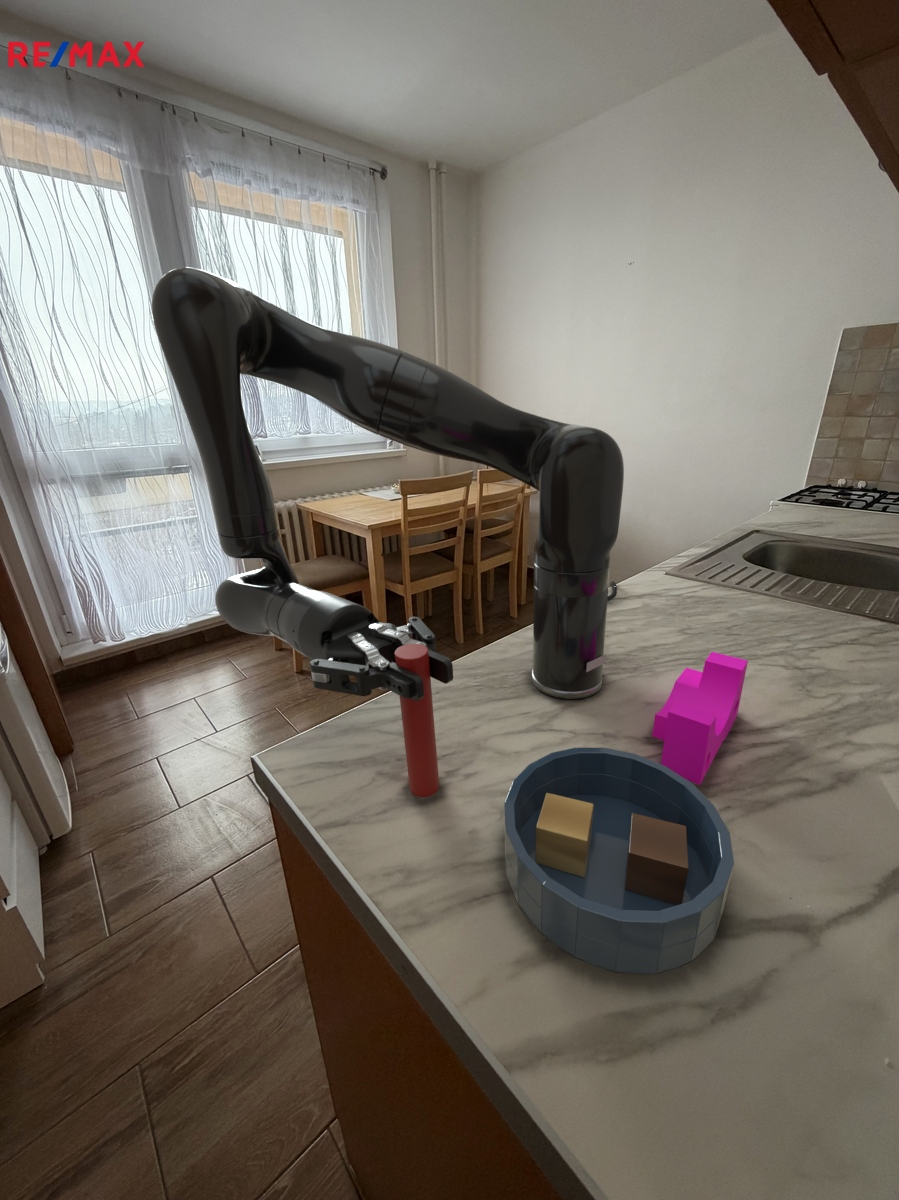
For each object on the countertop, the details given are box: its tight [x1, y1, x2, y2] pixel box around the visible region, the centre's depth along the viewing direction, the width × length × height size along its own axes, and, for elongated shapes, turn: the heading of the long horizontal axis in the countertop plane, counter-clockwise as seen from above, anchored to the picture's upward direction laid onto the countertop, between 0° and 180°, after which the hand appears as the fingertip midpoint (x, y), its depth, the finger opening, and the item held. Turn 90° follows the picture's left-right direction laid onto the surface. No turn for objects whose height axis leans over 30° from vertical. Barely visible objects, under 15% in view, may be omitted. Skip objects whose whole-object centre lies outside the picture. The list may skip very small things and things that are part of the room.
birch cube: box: [536, 793, 594, 877], centre depth 40 cm, size 4×4×4 cm
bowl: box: [503, 747, 735, 975], centre depth 39 cm, size 17×17×6 cm
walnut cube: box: [625, 813, 688, 905], centre depth 38 cm, size 4×4×4 cm
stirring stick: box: [395, 644, 440, 798], centre depth 46 cm, size 3×3×16 cm
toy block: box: [652, 651, 749, 786], centre depth 53 cm, size 15×6×8 cm, turn 139°
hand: (435, 680), depth 42 cm, fingers closed on stirring stick, 3 cm apart
